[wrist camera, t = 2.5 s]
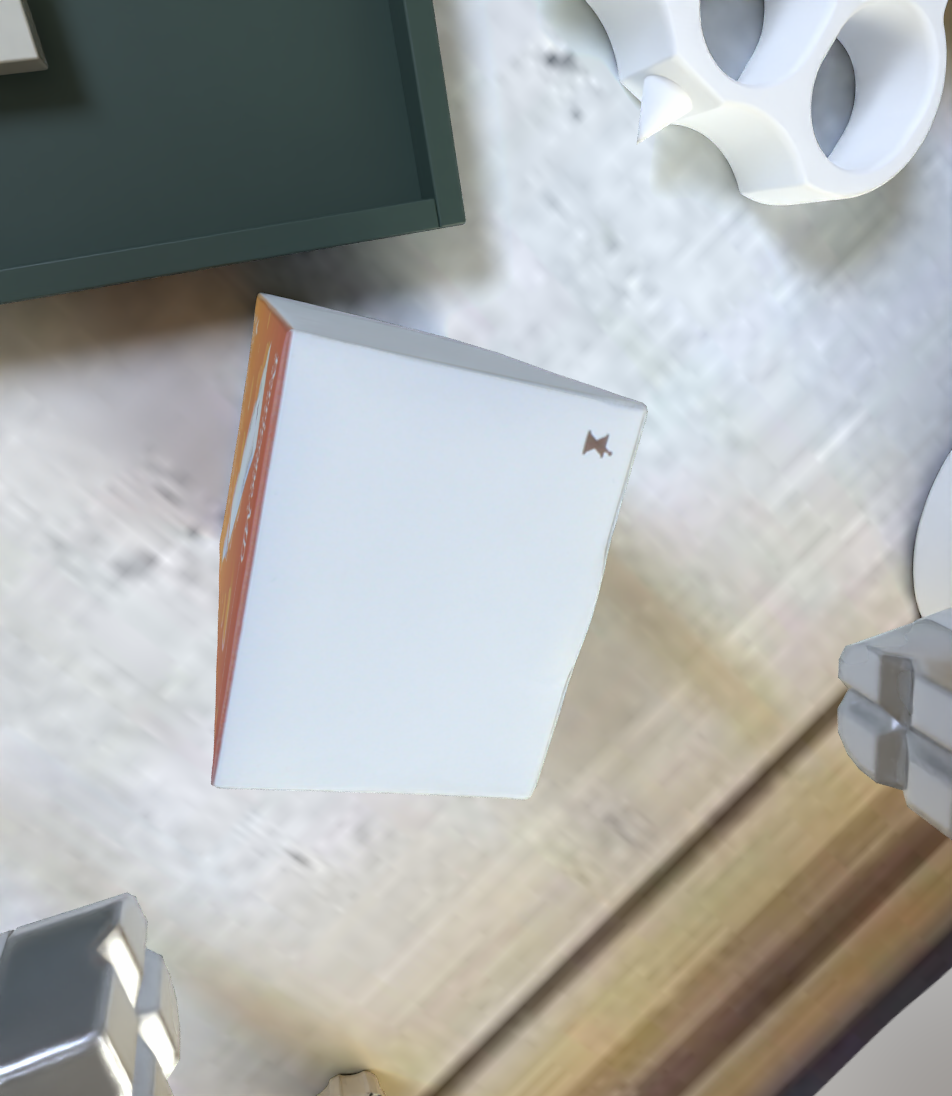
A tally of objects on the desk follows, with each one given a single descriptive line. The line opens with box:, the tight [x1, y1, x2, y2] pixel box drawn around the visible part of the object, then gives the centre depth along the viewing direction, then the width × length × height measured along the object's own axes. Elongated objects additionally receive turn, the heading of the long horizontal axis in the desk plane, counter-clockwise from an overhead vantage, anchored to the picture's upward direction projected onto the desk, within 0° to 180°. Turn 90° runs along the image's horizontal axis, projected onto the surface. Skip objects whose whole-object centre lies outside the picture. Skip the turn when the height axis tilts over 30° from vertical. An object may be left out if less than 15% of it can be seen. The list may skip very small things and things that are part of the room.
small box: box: [211, 293, 648, 800], centre depth 19 cm, size 8×6×13 cm
